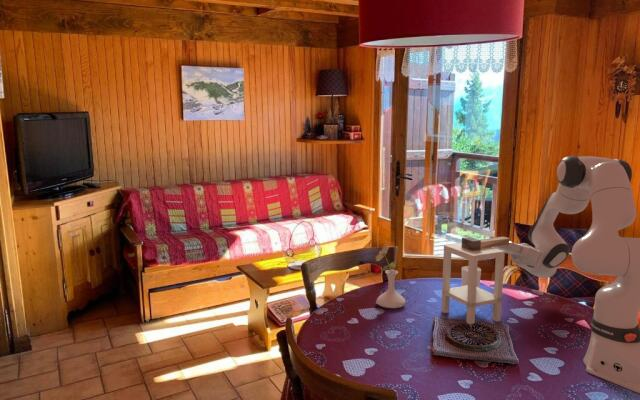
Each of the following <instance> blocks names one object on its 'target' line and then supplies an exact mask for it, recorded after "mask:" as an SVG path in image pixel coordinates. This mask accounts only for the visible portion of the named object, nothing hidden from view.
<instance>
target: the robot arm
mask: <svg viewBox="0 0 640 400" xmlns="http://www.w3.org/2000/svg"><path fill="white" fill-rule="evenodd" d="M632 178H633V170H632V167H631V165H630V164H629V163H628V161H626V160H622V159H618V158H613V159H612V158H608V157H601V156H600V157H598V156H594V155H593V156H591V155H590V156H589V155H588V156H587V155H585V156H581V155H580V156H576V155H569V156H565V157H563V158H562V159H561V160H560V161H559V162H558V165H557V170H556V179H557V182H558V185H557V188H556V191H555V192H553V193H551V194H550V195H549V196H548V198H547V199H546V201H545V203H544V204H543V206H542V208H541V210H540V212H539V213H538V217H536V220H535V221H534V222H533V224H532V226H530V228H529V230H528V232H527V238H528V240H529V241H530V242H531V243H532V244H533V245H534V246H535V247H533V246H531V245H529V244H528V243H525V242H522V243H516V242H513V241H509V243H508V245H502V246H495V247H493V248H496V249H499V250H502V251H505V254H508V255H509V256H510V260H511V262H512V264H513V263H514V264H515V265H517V266H519V267H520V268H522V269H523V270H526V271H527V272H528V273H530V274H531V275H533V276H535V277H537V278H542V279H548V278H551V277H553V276H554V275H555V274H556V273H557V268H558V266H559V265H561V264H563V263H564V262H565V261H566V260H567V258H568V257H569V255H570V253H571V260H572V263H573V265H574V267H576V268H577V270H578V271H580V272H583V273H587V274H592V275H597V276H615V277H616V276H617V277H616V279H615V280H614V281H612V282H611V283H609V284H607V285H604V286H602V287H601V288H599V289H598V290H597V292H596V293H595V297H594V307H593V310H594V311H593V316H592V317H591V321H590V330H591V334H590V339H589V344H588V345H587V346H588V347H587V350H586V353H585V354H584V356H583V359H582V361H583V362H582V363H584V365H585V367H586V368H585V371H586V372H587V373H589V374H591V375H593V376H595V377H598V378H601V379H603V380H605V381H608V382H610V383H612V384H615V385H617V386H621V387H622V388H625V389H627V390H630V391H632V392H636V393H638V394H640V325H639V322H638V321H639V315H640V237H622V236H620V235H619V231H621V230H623V229H625V228H627V227H629V226H631V225H632V224H633V223H634V222H635V220H636V217H637V209H636V204H635V199H634V192H633V189H632V185H631V181H632ZM589 203H591V211H592V213H591V214H592V215H591V216H592V220H591V221H592V222H591V226H590V227H589V230H588V231H587V232H586V234H584V235H583V236H582V237H580V238H579V239H577V241H575V243H574V245H573V246H572V248H570V245H569V244H568V243H567V242H566V241H565V240H564V239H563V238H562V237H561V235H560V234H559V233H558V232H557V231H556V228H555V226H554V223H555V221H556V219H557V216H559V213H561V214H565V215H577V214H578V213H582V212H583V211H584V210H585V209H586V208H587V207H588V205H589ZM496 237H497V236H496ZM496 237H495V236H493V235H490V237H489V238H496ZM570 251H571V252H570Z"/></svg>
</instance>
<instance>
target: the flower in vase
mask: <svg viewBox="0 0 640 400" xmlns="http://www.w3.org/2000/svg"><path fill="white" fill-rule="evenodd" d="M389 249H390V246H389V245H388V244H386V245H384V246H382V248H381V250H379V252H378V254H377V255H376V256H375V261H376V262H379V261H381V260H382V259H383V258H384V257H385V260H386V263H387V265H385V266H383V267H382V269H381V272H385V274H386V275H387V280H388V286H387V289H386V290H385V291H384V292H383V293H381V294H380V295H379V296H378V297H377V299H376V300H375V301H376V303H377V305H379V306H380V307H383V308H386V309H398V308H402V307H404V306H405V305H406V302H407V301H406V299H405V297H404V296H402V295H401V294H400V293H398V292H397V290H396V289H395V280H396V276H397V275H398V273H399V271H398V270H395V268H396V261H395V260H394V261H391V263H389V261H388V258H387V256H386V254H387V253H388V250H389Z"/></svg>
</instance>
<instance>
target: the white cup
mask: <svg viewBox="0 0 640 400" xmlns="http://www.w3.org/2000/svg"><path fill="white" fill-rule="evenodd" d="M481 274H482V269H481V268H480V267H478V266H477V286H476V287H479V288H480V283H481ZM465 285H468V265H465V266H461V286H465Z"/></svg>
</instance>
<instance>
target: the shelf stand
mask: <svg viewBox="0 0 640 400" xmlns="http://www.w3.org/2000/svg"><path fill="white" fill-rule="evenodd" d="M452 254H453V255H455V256H458V257H460V258H463V259H465V260H468V263H467V264H468V265H467V266H468V285H465V286H462V285H461V286H455V287H451V275H452V273H451V270H452ZM505 254H506V253H505V251H502V250H499V249H496V248H494V247H488V248H481V249H480V250H476V251H471V250H468V249H466V248H463V247H462V242H457V243H450V244H448V243H447V244H444V245H443V257H442V259H443V261H442V262H443V263H442V285H441V287H442V288H441V289H442V290H441V313H443V314H449V313H450V299H453V300H455V301H456V302H458V303H461V304H463V305H465V306H466V319H465V320H466V322H467V323H469V324H471V323H475V321H476V308H477V307H482V306H487V305H492V304H493V305H492V321H494V322H501V320H502V319H501V318H502V305H503V284H504V269H505V268H504V267H505ZM491 259H495V263H494V264H495V266H494V284H493V285H494V286H493V293H492V292H489V291H487V290H485V289H483V288H480V286H479V287H476V286H477V267H478V264H479V263H478V262H479V261H485V260H486V261H487V260H491ZM466 322H465V323H466Z"/></svg>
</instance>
